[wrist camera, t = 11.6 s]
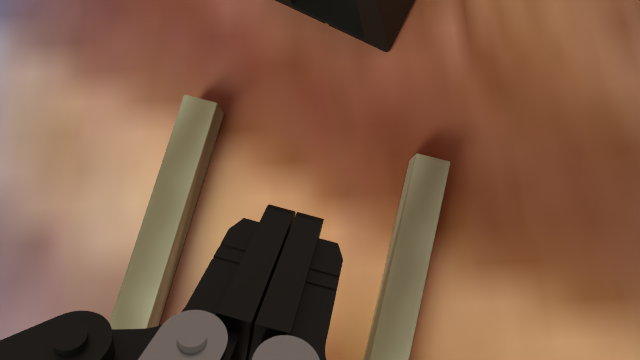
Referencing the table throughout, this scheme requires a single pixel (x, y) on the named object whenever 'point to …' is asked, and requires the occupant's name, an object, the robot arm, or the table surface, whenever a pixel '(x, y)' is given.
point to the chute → (179, 204)
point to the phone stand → (359, 17)
